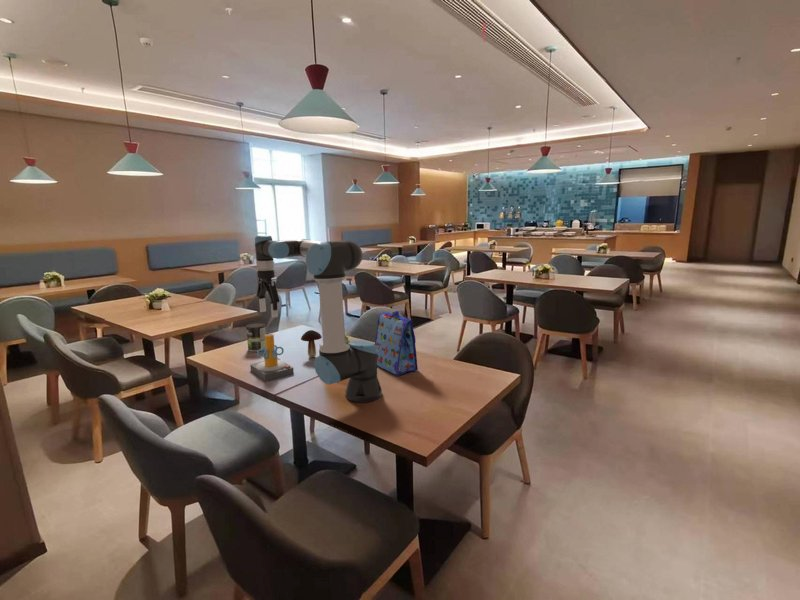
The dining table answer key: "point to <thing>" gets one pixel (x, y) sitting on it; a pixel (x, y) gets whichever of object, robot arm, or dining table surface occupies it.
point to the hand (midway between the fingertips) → (268, 314)
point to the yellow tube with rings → (270, 351)
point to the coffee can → (256, 336)
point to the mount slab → (271, 370)
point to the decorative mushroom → (311, 341)
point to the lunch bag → (395, 344)
